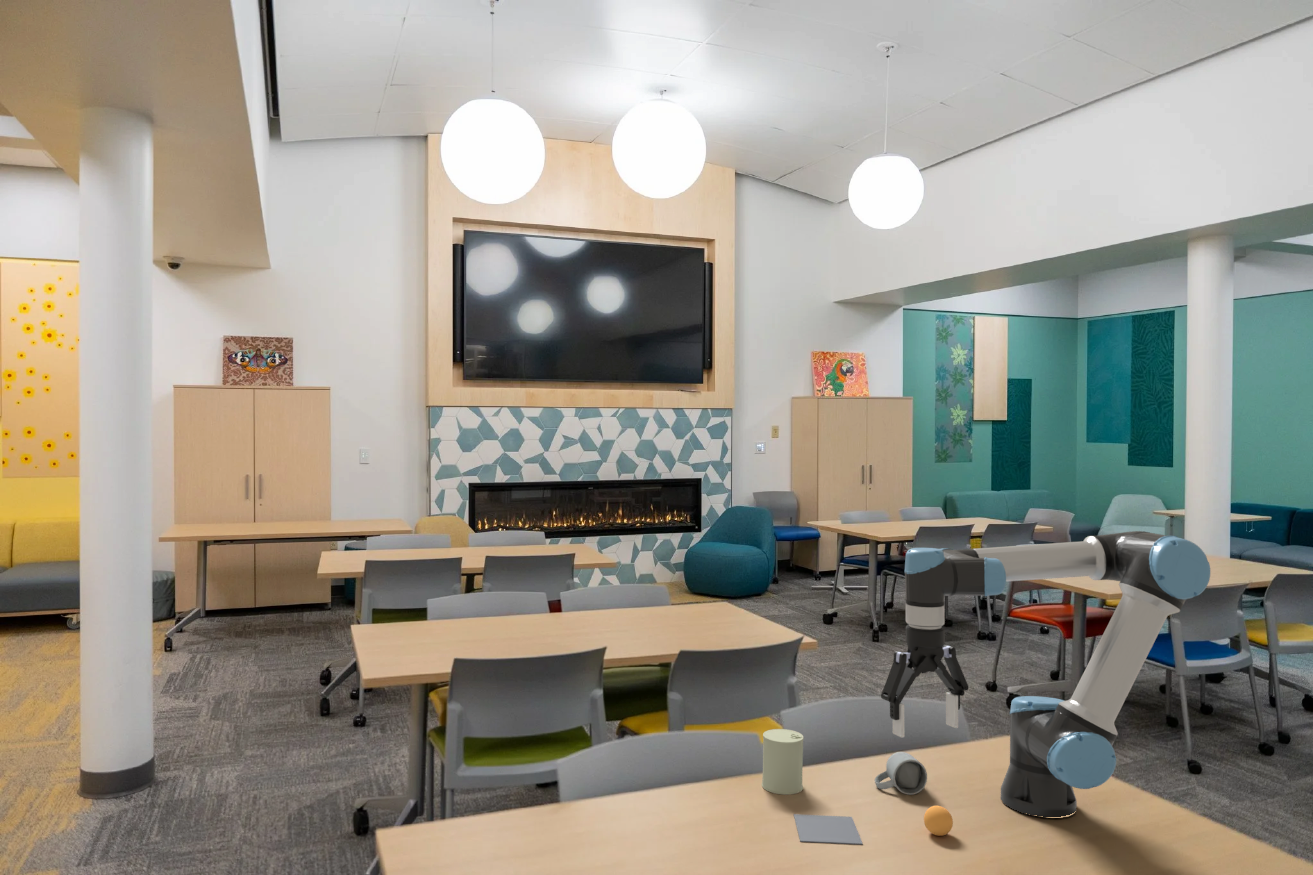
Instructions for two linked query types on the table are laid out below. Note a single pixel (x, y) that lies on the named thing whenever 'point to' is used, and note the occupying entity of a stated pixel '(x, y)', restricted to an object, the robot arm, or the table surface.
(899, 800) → the table surface
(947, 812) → the ball
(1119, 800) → the table surface
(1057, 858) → the table surface
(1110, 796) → the table surface
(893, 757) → the ceramic mug
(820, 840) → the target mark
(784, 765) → the can
